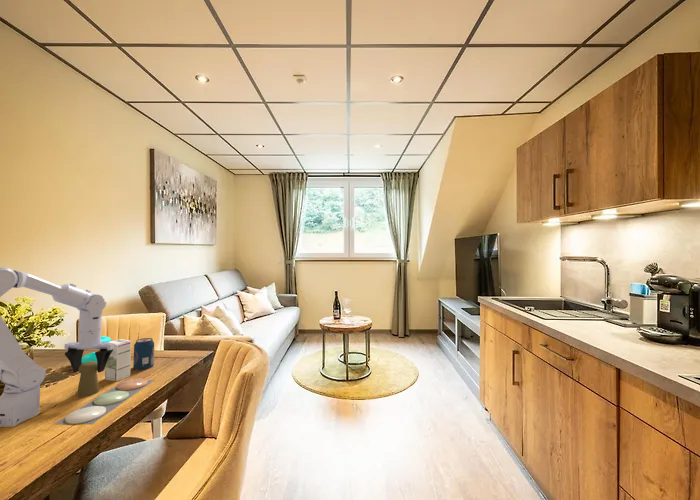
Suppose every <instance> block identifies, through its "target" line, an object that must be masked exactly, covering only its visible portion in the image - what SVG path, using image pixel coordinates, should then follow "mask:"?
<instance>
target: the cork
mask: <svg viewBox="0 0 700 500" xmlns="http://www.w3.org/2000/svg"><path fill="white" fill-rule="evenodd" d="M78 373H79V374H80V376H79V380H78V387H77V392H76V396H77V397H79V398H84V397H90V396H92V395H93V396H94V395H96V394H98V393H99V392H100V388H99V386H100V385H99V380H98V379H99V378H98V371H97V362H95V361H90V362H85V363H83V364H82V363H81V365H80V367H79V371H78Z"/></svg>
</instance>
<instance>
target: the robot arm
mask: <svg viewBox="0 0 700 500" xmlns="http://www.w3.org/2000/svg"><path fill="white" fill-rule="evenodd" d="M12 288H14V289H18V288H19V289H20V288H26V289H30V290H33V291H36V292H38V293H39V292H40V293H42V294H46V295H50V296H52V299H53V301H54V302H56V303H60V304H63V305H65V306H66V305H67V306H69V307H72V308H74V309H75V308H76V309H77V310H78V311H79V314H78V315H79V318H78V319H79V320H78V342H77V341H76V342H67V343H64V348H63V349H64V351H65V352H64V356H65V357H66V359H68V361H69V363H70V366H71V368H72V372H73V373H77V372H78V373H79V367H80V365H81V364H82V363H81V360H82V357H83V356H84V355H83V354H84V351H85V350H98V351H94V352H95V355H96V358H97V373H102V372H105V366H106V363H107V360H108V358H109V356H110V354H111V353H112V351H113V349H114V343H109V342H102V341H101V336H102V315H103V311H104V309H105V308H106V306H107V301H106V299H105V298H104V297H103V295H100V294H95V293H91V292H92V291H91V290H90V289H86V290H85V289H81V288H79V287H77V285H76V284H75V283H64V284H62V285H61V284H60V285H59V284H55V283H53V282H51V281H48V280H45V279H42V278H40V277H38V276H35V275H32V274H30V273H27V272H24V271H20V270H15V269H12V268H9V267H5V266H1V267H0V298H1V297H2V296H4V295H5V294H6V293H7V292H9V291H10V290H11V289H12ZM46 376H47V373H46V369H45V368H44V367H43V366H41V365H38V364H37V363H36V362H35V360H34V359H32V358H31V357H30V356H28V355H27V353H25V352H24V349H23V348H22V347H21V345H20V343H19V342H18V340H17V339H16V337H15V336H14V334H13V333H12V331H11V330H10V328H9V327H8V325H7V324H6V322H5V320H4V319H3V317H2V316H1V315H0V381H1V383H3V384H5V385H4V388H3V392H2V394H1V395H0V428H1V427H7V428H9V427H10V428H12V427H15V426H17V425H19V424H21V423H23V422H24V421H27V420H29V419H31V418H34V417H36V416H37V415H38V414H40V406H41V405H40V404H41V403H40V401H41V398H40V397H41V384H42V383H43V381H44V380H45V378H46Z"/></svg>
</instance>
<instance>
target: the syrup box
mask: <svg viewBox="0 0 700 500" xmlns="http://www.w3.org/2000/svg"><path fill="white" fill-rule="evenodd" d="M109 343H114V349H113V351H112V353H111V354H110V356H109V358H108V360H107V363H106V366H105V369H104V379H105V380H106V381H110V382H111V381H112V382H118V381H121V380H123V379H126V378H129V377H130V376H131V362H132V361H131V360H132V359H131V355H132V340H128V339H123V338H122V339H121V338H120V339H119V338H118V339H114V340H111V341H110V342H109Z"/></svg>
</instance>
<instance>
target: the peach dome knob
mask: <svg viewBox="0 0 700 500" xmlns="http://www.w3.org/2000/svg"><path fill="white" fill-rule="evenodd" d="M126 380H127V381H125V380H124V381H121V382H119V383H118V384H117V385H116V386H117V390H120V391H128V390H134V389H138V388H141V387H143V386H145V385H147V383H148V380H149V379H146V378H132V379H126ZM147 386H148V385H147Z"/></svg>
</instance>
